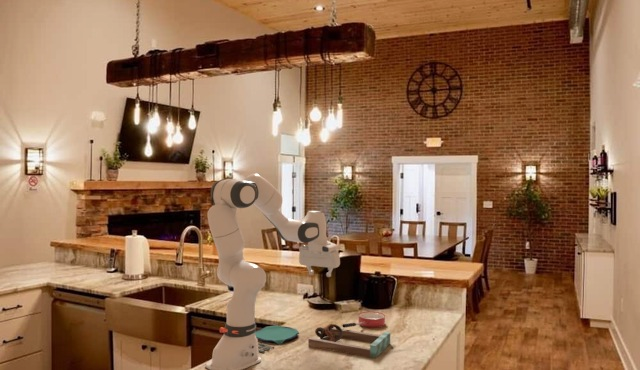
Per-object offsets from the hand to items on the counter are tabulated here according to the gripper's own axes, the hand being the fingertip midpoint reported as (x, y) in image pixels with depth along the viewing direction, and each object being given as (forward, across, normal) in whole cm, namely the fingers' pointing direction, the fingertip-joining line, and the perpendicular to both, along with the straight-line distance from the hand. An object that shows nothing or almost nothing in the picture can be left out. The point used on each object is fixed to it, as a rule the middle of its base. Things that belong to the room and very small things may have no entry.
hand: (320, 275), depth 226 cm
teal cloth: (+26, -16, -20) cm, 37 cm away
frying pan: (+30, +12, +16) cm, 36 cm away
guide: (+27, +17, -6) cm, 33 cm away
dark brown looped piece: (+27, +6, -7) cm, 29 cm away
